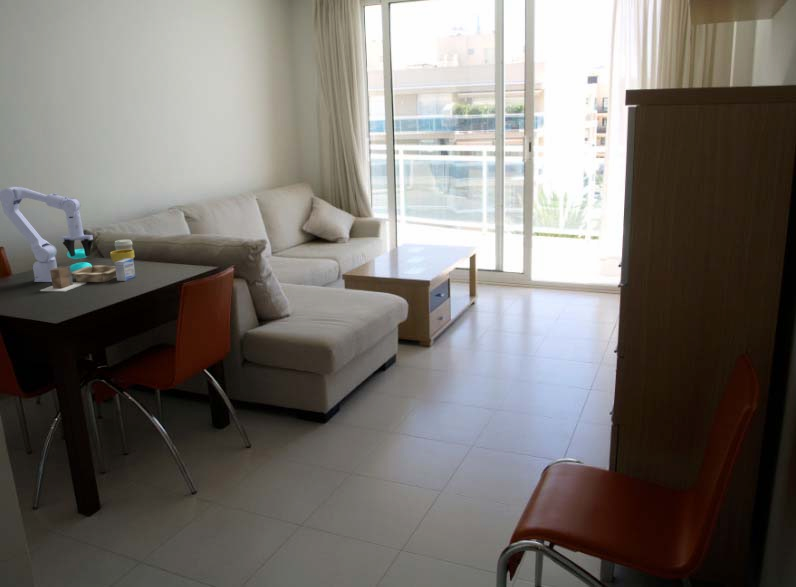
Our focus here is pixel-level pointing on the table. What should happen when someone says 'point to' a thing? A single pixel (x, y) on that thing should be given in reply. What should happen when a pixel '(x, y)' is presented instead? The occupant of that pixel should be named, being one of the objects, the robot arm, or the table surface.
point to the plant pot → (122, 254)
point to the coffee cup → (123, 244)
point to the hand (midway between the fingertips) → (80, 255)
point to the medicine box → (125, 269)
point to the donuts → (78, 255)
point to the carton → (95, 273)
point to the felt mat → (75, 284)
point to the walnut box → (61, 277)
